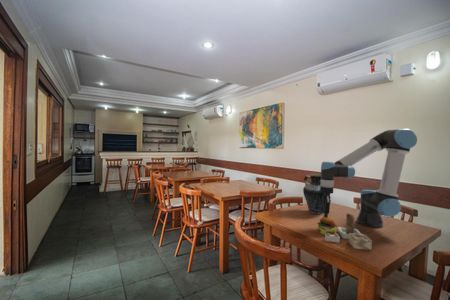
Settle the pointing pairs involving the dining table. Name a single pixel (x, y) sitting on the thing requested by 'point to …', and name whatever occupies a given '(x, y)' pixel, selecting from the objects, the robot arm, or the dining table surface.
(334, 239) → the rail
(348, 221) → the dowel
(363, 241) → the jig block
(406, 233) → the dining table surface
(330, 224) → the cheeseburger
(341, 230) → the tray
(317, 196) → the jug
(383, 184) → the robot arm
